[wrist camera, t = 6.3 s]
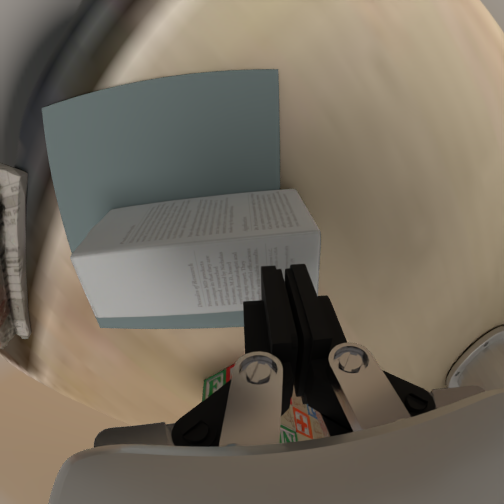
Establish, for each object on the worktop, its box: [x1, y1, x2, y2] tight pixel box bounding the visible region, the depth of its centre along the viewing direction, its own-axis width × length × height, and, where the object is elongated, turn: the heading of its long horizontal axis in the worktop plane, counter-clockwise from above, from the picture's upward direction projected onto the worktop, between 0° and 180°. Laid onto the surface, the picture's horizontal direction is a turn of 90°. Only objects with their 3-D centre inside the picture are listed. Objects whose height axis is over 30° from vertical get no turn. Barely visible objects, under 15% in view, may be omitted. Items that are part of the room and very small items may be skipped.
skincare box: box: [71, 189, 321, 318], centre depth 16 cm, size 6×4×12 cm
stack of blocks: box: [202, 364, 325, 443], centre depth 25 cm, size 21×6×12 cm, turn 40°
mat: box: [42, 69, 280, 329], centre depth 19 cm, size 15×18×1 cm
